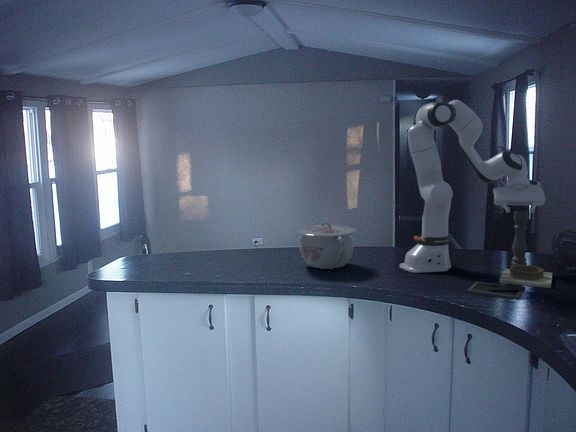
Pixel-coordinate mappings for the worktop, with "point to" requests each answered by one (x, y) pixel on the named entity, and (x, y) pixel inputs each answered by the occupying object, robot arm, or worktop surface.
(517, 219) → the candle holder
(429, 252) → the robot arm
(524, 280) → the collar board
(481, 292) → the picture frame
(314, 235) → the chamber pot
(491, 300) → the worktop surface
